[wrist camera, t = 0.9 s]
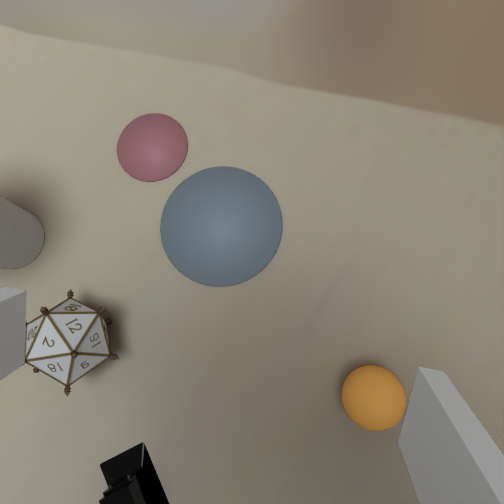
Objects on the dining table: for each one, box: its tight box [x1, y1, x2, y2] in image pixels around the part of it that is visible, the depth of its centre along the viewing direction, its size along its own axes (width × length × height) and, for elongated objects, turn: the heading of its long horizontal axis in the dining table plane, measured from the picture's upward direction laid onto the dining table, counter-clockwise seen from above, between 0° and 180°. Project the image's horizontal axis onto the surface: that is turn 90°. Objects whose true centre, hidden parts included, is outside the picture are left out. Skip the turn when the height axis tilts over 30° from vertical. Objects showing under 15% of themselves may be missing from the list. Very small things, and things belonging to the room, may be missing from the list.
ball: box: [341, 365, 406, 431], centre depth 35 cm, size 6×6×6 cm
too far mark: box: [117, 113, 188, 182], centre depth 43 cm, size 8×8×1 cm
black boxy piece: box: [99, 442, 169, 504], centre depth 36 cm, size 12×7×5 cm, turn 27°
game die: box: [20, 289, 119, 396], centre depth 37 cm, size 9×8×10 cm
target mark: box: [160, 167, 282, 287], centre depth 41 cm, size 13×13×1 cm
